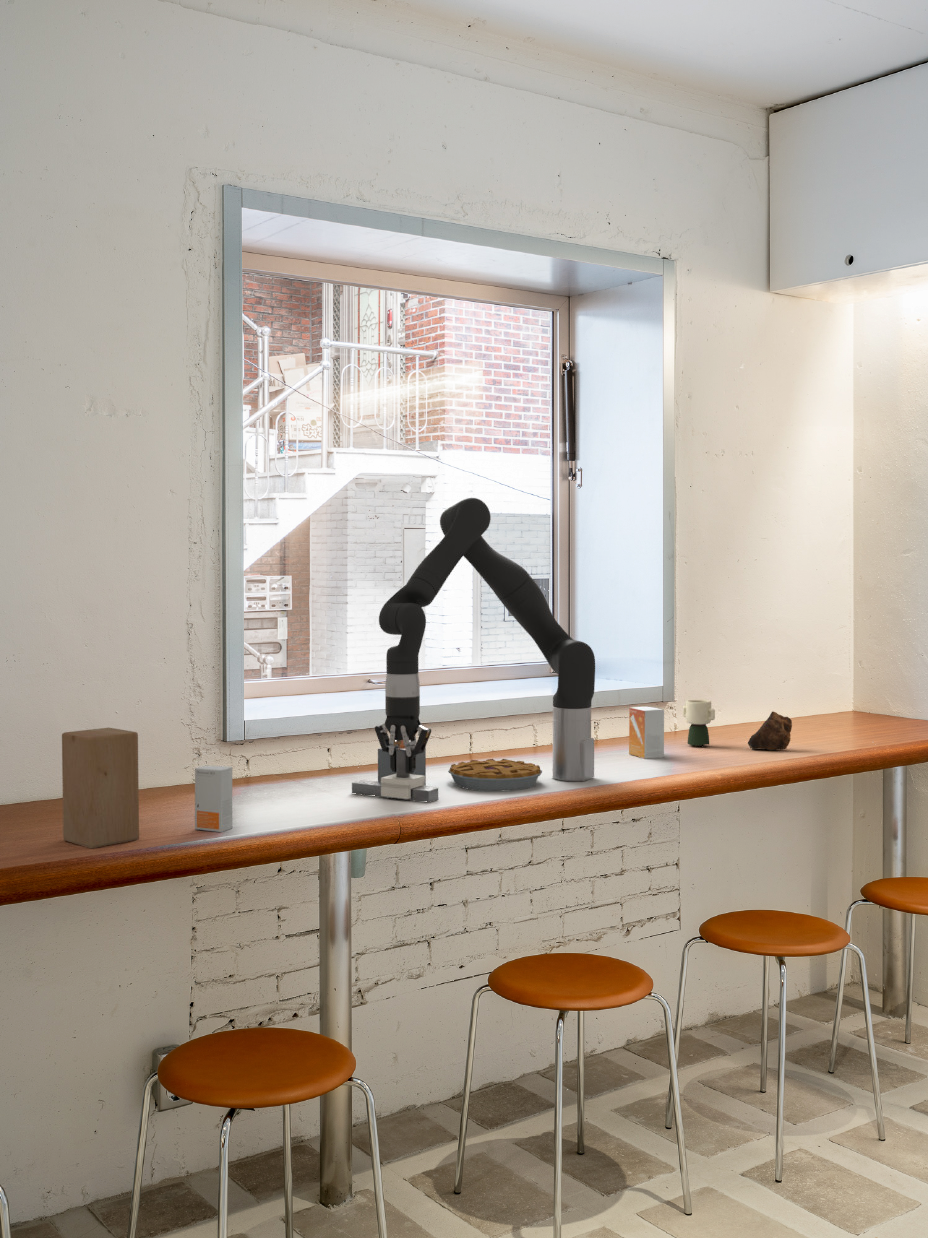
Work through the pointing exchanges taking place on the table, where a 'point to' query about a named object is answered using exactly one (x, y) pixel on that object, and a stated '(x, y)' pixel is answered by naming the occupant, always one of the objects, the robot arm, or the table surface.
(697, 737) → the character mug
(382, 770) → the grey cube-like block
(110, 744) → the wooden block
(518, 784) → the pie
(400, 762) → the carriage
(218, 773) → the skincare box
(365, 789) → the rail
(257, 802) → the table surface
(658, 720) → the small box
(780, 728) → the decorative rock
